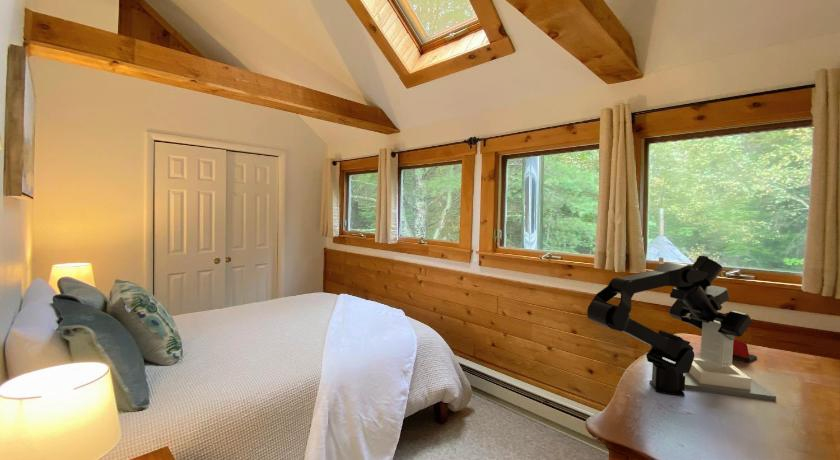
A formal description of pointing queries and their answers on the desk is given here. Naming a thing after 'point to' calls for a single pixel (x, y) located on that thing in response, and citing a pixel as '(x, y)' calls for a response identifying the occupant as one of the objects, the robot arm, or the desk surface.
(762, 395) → the socket board
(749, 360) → the handheld game console
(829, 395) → the desk surface
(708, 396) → the desk surface
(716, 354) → the skincare box
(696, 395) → the desk surface
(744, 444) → the desk surface
